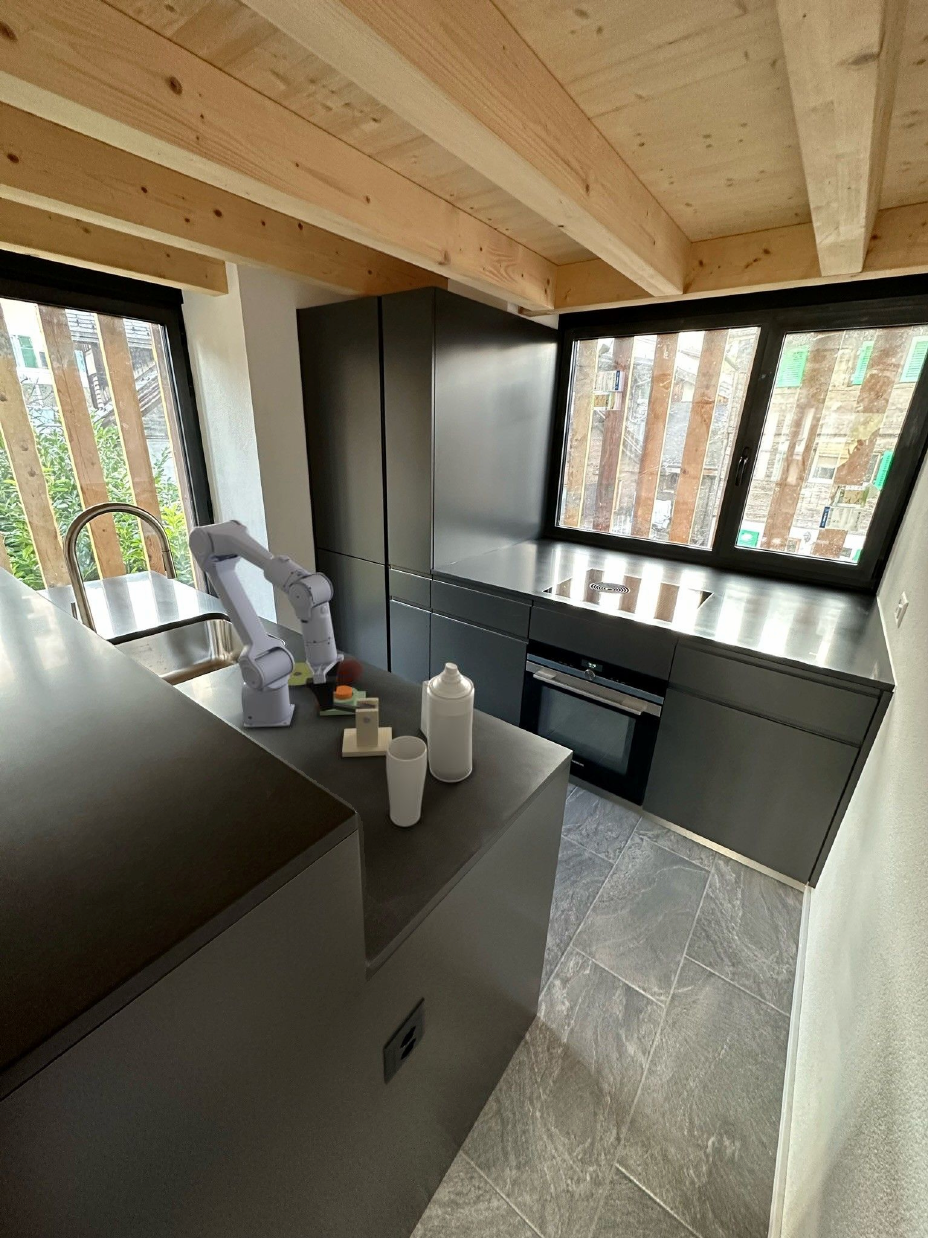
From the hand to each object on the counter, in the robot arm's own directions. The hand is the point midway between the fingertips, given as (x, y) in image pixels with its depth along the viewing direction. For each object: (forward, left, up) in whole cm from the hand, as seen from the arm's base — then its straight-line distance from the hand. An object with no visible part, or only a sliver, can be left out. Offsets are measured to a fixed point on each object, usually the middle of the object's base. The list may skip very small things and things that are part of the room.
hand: (329, 700), depth 103 cm
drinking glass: (+14, -21, -11) cm, 28 cm away
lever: (+3, 0, -3) cm, 4 cm away
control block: (+1, +15, -11) cm, 18 cm away
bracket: (+7, 0, -11) cm, 13 cm away
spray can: (+23, -10, -11) cm, 28 cm away
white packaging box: (+23, +2, -11) cm, 26 cm away
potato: (+1, +25, -11) cm, 27 cm away
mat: (-11, +27, -11) cm, 31 cm away
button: (+1, +15, -8) cm, 17 cm away
